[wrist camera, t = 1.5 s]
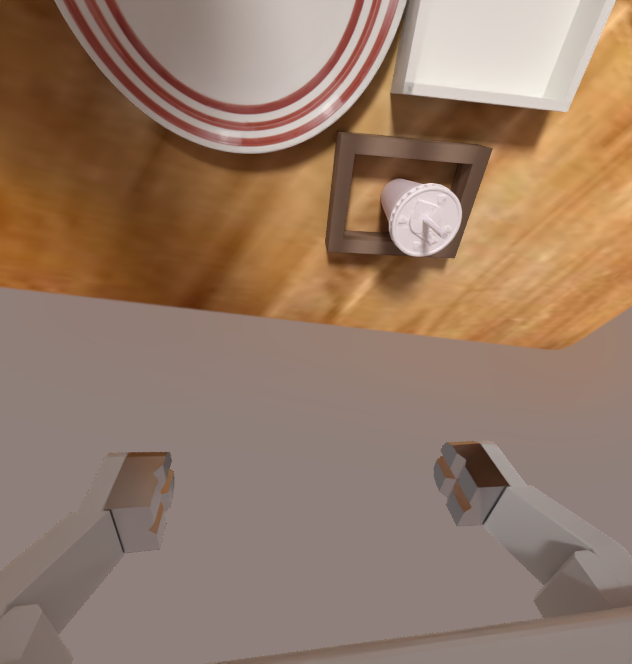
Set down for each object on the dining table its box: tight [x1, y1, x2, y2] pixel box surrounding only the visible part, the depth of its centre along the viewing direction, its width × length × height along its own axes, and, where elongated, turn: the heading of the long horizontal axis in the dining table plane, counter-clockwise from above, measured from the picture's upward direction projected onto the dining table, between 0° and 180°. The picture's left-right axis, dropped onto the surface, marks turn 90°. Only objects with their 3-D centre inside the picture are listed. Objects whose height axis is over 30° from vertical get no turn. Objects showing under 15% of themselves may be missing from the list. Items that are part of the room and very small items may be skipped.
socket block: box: [325, 131, 492, 258], centre depth 36 cm, size 15×11×3 cm
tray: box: [390, 0, 616, 112], centre depth 27 cm, size 16×14×4 cm
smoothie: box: [380, 178, 462, 257], centre depth 32 cm, size 6×6×14 cm
